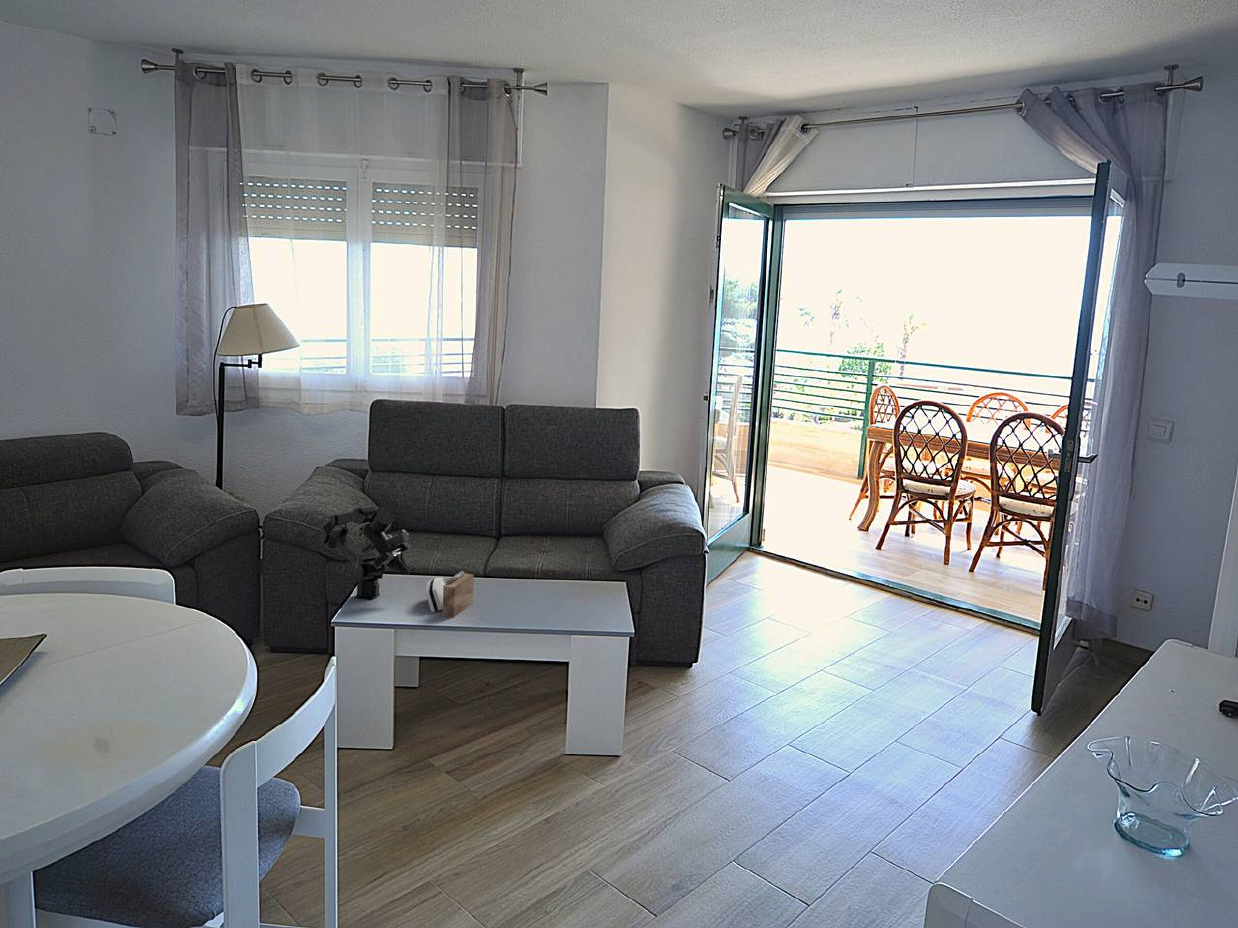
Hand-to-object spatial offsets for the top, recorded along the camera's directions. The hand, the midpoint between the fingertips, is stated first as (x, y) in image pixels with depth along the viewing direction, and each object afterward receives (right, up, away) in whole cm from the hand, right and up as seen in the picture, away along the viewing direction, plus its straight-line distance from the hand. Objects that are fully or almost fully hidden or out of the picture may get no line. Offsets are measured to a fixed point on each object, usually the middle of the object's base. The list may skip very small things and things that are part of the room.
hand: (408, 573), depth 315 cm
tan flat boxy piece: (+17, -12, -2) cm, 21 cm away
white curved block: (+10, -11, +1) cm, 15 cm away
